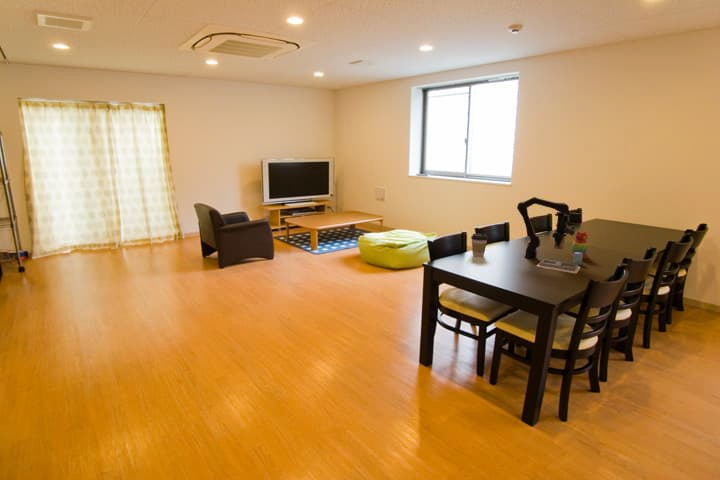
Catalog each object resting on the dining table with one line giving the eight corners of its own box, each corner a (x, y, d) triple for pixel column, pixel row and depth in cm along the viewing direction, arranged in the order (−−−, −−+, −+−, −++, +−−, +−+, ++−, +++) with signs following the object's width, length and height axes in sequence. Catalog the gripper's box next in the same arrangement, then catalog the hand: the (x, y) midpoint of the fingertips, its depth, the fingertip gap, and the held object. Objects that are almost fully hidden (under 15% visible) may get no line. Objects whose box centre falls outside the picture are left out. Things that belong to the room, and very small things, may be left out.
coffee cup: (487, 258, 275) (489, 237, 271) (470, 257, 277) (471, 236, 273) (485, 254, 285) (487, 233, 282) (469, 253, 288) (470, 232, 284)
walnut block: (554, 248, 269) (555, 238, 267) (555, 246, 273) (556, 236, 271) (562, 249, 266) (563, 239, 264) (563, 247, 270) (565, 237, 268)
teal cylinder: (572, 263, 264) (573, 253, 262) (573, 262, 268) (574, 251, 266) (580, 265, 261) (582, 254, 259) (581, 263, 265) (583, 253, 263)
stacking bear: (576, 259, 274) (580, 233, 269) (566, 255, 283) (569, 230, 279) (590, 258, 276) (594, 233, 271) (580, 254, 285) (583, 229, 281)
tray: (536, 266, 258) (536, 262, 257) (541, 261, 269) (542, 257, 268) (576, 273, 244) (576, 269, 244) (580, 267, 255) (581, 264, 255)
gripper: (572, 226, 253) (569, 250, 257) (578, 222, 268) (575, 244, 271) (553, 224, 260) (550, 248, 263) (559, 220, 274) (557, 242, 278)
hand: (559, 245), depth 269 cm, fingers closed on walnut block, 5 cm apart
